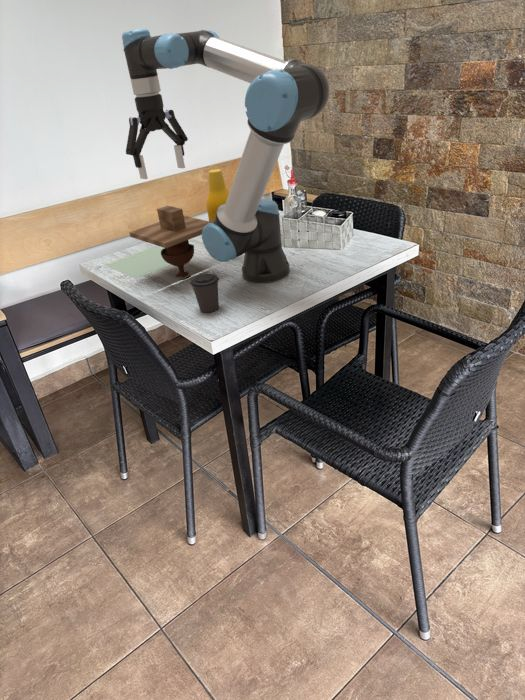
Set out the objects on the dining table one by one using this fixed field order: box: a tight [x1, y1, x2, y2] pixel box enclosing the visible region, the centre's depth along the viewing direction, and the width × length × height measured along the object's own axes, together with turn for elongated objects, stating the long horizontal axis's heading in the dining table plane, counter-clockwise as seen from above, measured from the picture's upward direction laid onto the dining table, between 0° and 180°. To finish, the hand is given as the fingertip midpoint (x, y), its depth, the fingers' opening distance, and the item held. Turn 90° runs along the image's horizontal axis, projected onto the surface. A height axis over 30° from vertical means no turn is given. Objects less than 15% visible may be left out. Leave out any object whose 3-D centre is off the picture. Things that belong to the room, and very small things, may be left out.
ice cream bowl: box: [161, 240, 195, 281], centre depth 170 cm, size 11×11×15 cm
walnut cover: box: [129, 205, 212, 249], centre depth 164 cm, size 20×20×8 cm
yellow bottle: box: [206, 168, 229, 222], centre depth 179 cm, size 9×9×29 cm
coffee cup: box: [189, 273, 220, 315], centre depth 148 cm, size 8×8×10 cm
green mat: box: [104, 245, 172, 280], centre depth 188 cm, size 22×22×1 cm
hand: (163, 173), depth 157 cm, fingers open, 13 cm apart
